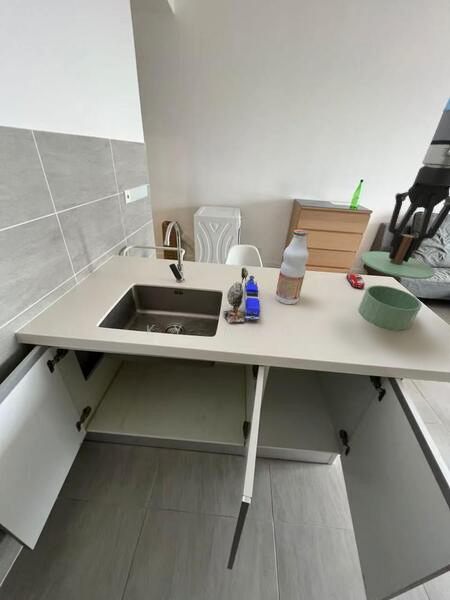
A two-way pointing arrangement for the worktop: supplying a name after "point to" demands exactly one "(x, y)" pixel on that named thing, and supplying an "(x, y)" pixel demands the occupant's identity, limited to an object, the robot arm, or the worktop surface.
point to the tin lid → (398, 262)
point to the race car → (355, 280)
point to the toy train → (251, 300)
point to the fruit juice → (293, 269)
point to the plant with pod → (236, 300)
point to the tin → (389, 307)
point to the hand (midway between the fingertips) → (397, 258)
